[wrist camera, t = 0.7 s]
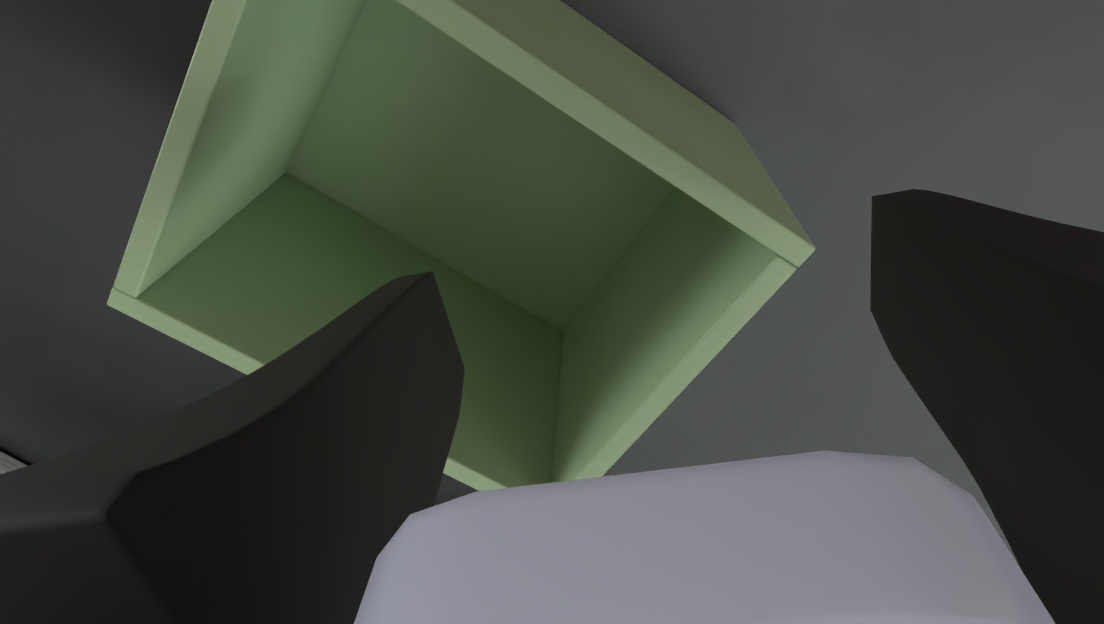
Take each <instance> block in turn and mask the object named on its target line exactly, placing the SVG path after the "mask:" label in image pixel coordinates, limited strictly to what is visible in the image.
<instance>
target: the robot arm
mask: <svg viewBox="0 0 1104 624" xmlns="http://www.w3.org/2000/svg"><path fill="white" fill-rule="evenodd" d="M871 312H872V314H873V316H874V318H875V321H876V323H877V325H878V327H879V330H880V332H881V334H882V336H883V339H884V341H885V343H886V345H887V347H888V349H889V351H890V353H891V355H892V357H893V358H894V360H895V362H896V363H897V365H898V366H899V368H900V369H901V371H902V372H903V374H904V375H905V377H906V378H907V380H908V381H909V383H910V384H911V386H912V387H913V388H914V390H915V391H916V393H917V394H918V396H919V397H920V399H921V400H922V402H923V403H924V405H925V406H926V407H927V409H928V410H929V412H930V413H931V415H932V416H933V418H934V419H935V420H936V422H937V423H938V425H939V426H940V428H941V429H942V431H943V432H944V433H945V435H946V436H947V438H948V439H949V441H950V442H951V444H952V445H953V447H954V448H955V449H956V451H957V452H958V454H959V455H960V457H961V458H962V460H963V461H964V463H965V464H966V466H967V468H968V469H969V471H970V472H971V474H972V476H973V477H974V479H975V481H976V482H977V484H978V486H979V487H980V489H981V491H982V493H983V495H984V497H985V499H986V501H987V503H988V504H989V506H990V508H991V510H992V512H993V514H994V516H995V518H996V520H997V522H998V524H999V526H1000V527H1001V529H1002V531H1003V533H1004V535H1005V537H1006V539H1007V541H1008V543H1009V545H1010V547H1011V549H1012V551H1013V553H1014V555H1015V557H1016V559H1017V561H1018V563H1019V565H1020V567H1021V569H1022V571H1023V572H1022V571H1021V569H1020V567H1019V566H1018V564H1017V563H1016V561H1015V560H1014V558H1013V557H1012V555H1011V553H1010V552H1009V550H1008V549H1007V547H1006V546H1005V544H1004V543H1003V541H1002V539H1001V538H1000V536H999V535H998V533H997V532H996V530H995V529H994V527H993V525H992V524H991V522H990V521H989V519H988V518H987V516H986V514H985V513H984V511H983V510H982V508H981V507H980V505H979V504H978V502H977V500H976V499H975V497H974V496H973V495H972V494H970V493H969V492H967V491H966V490H964V489H962V488H961V487H959V486H958V485H956V484H954V483H953V482H951V481H950V480H948V479H946V478H945V477H943V476H942V475H940V474H938V473H937V472H935V471H934V470H932V469H930V468H929V467H927V466H926V465H924V464H922V463H921V462H919V461H917V460H916V459H914V458H913V457H900V456H887V455H875V454H862V453H849V452H836V451H818V452H810V453H801V454H793V455H784V456H776V457H767V458H759V459H750V460H741V461H733V462H724V463H716V464H707V465H699V466H690V467H682V468H673V469H664V470H656V471H647V472H639V473H630V474H622V475H613V476H605V477H596V478H587V479H579V480H570V481H562V482H553V483H545V484H536V485H528V486H519V487H510V488H502V489H493V490H485V491H476V492H473V493H471V494H468V495H465V496H462V497H459V498H456V499H453V500H450V501H447V502H445V503H442V504H439V505H436V506H433V505H434V502H435V498H436V495H437V491H438V488H439V485H440V481H441V478H442V474H443V471H444V468H445V464H446V461H447V457H448V454H449V451H450V447H451V443H452V440H453V436H454V433H455V429H456V426H457V422H458V418H459V414H460V406H461V399H462V391H463V382H464V372H465V367H464V364H463V361H462V358H461V355H460V352H459V349H458V346H457V343H456V340H455V337H454V334H453V331H452V328H451V325H450V322H449V319H448V316H447V313H446V310H445V307H444V304H443V301H442V298H441V295H440V292H439V289H438V286H437V283H436V280H435V277H434V274H433V271H430V272H424V273H419V274H413V275H407V276H401V277H398V278H396V279H393V280H391V281H389V282H388V283H386V284H384V285H383V286H381V287H379V288H378V289H376V290H375V291H373V292H372V293H370V294H369V295H367V296H366V297H364V298H363V299H362V300H360V301H359V302H357V303H356V304H355V305H353V306H352V307H350V308H349V309H348V310H346V311H345V312H343V313H342V314H341V315H339V316H338V317H336V318H335V319H334V320H332V321H331V322H329V323H328V324H326V325H325V326H324V327H322V328H321V329H319V330H318V331H316V332H315V333H313V334H312V335H310V336H309V337H307V338H306V339H304V340H303V341H301V342H300V343H298V344H297V345H295V346H294V347H292V348H291V349H289V350H288V351H286V352H285V353H283V354H282V355H280V356H279V357H277V358H275V359H274V360H272V361H271V362H269V363H267V364H266V365H264V366H262V367H260V368H259V369H257V370H255V371H254V372H252V373H250V374H248V375H247V376H245V377H243V378H241V379H239V380H237V381H235V382H234V383H232V384H230V385H228V386H226V387H224V388H223V389H221V390H219V391H217V392H215V393H213V394H211V395H209V396H207V397H204V398H202V399H200V400H198V401H196V402H194V403H191V404H189V405H187V406H185V407H183V408H180V409H178V410H176V411H174V412H172V413H170V414H167V415H165V416H163V417H161V418H159V419H156V420H154V421H152V422H150V423H147V424H145V425H142V426H140V427H137V428H135V429H132V430H130V431H127V432H125V433H122V434H120V435H117V436H115V437H112V438H109V439H106V440H104V441H101V442H98V443H95V444H93V445H90V446H87V447H84V448H82V449H79V450H76V451H73V452H70V453H67V454H64V455H61V456H58V457H55V458H52V459H49V460H46V461H42V462H39V463H36V464H33V465H29V466H26V467H23V468H19V469H16V470H13V471H10V472H6V473H3V474H0V624H1104V232H1100V231H1095V230H1090V229H1085V228H1081V227H1076V226H1071V225H1066V224H1062V223H1057V222H1053V221H1049V220H1045V219H1040V218H1036V217H1032V216H1028V215H1024V214H1020V213H1016V212H1013V211H1009V210H1005V209H1001V208H997V207H993V206H990V205H986V204H982V203H978V202H974V201H971V200H967V199H963V198H959V197H955V196H951V195H946V194H942V193H937V192H932V191H926V190H916V189H913V190H907V191H901V192H895V193H889V194H883V195H877V196H872V232H871ZM1023 573H1024V574H1023Z"/></svg>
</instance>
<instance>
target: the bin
mask: <svg viewBox="0 0 1104 624" xmlns="http://www.w3.org/2000/svg"><path fill="white" fill-rule="evenodd" d="M814 250H815V246H814V245H813V243H812V242H811V240H810V239H809V237H808V235H807V234H806V232H805V231H804V229H803V228H802V226H801V225H800V223H799V221H798V220H797V218H796V217H795V215H794V214H793V212H792V210H791V209H790V207H789V206H788V204H787V203H786V201H785V200H784V198H783V196H782V195H781V193H780V192H779V190H778V189H777V187H776V186H775V184H774V182H773V181H772V179H771V178H770V176H769V175H768V173H767V172H766V170H765V168H764V167H763V165H762V164H761V162H760V161H759V159H758V158H757V156H756V154H755V153H754V151H753V150H752V148H751V147H750V145H749V144H748V142H747V140H746V139H745V137H744V136H743V134H742V133H741V131H740V130H739V128H738V127H737V125H736V124H735V123H733V122H732V121H730V120H729V119H727V118H726V117H725V116H723V115H722V114H720V113H719V112H718V111H716V110H715V109H713V108H712V107H710V106H709V105H708V104H706V103H705V102H703V101H702V100H701V99H699V98H698V97H696V96H695V95H694V94H692V93H691V92H689V91H688V90H686V89H685V88H684V87H682V86H681V85H679V84H678V83H677V82H675V81H674V80H672V79H671V78H670V77H668V76H667V75H665V74H664V73H662V72H661V71H660V70H658V69H657V68H655V67H654V66H653V65H651V64H650V63H648V62H647V61H645V60H644V59H643V58H641V57H640V56H638V55H637V54H636V53H634V52H633V51H631V50H630V49H629V48H627V47H626V46H624V45H623V44H621V43H620V42H619V41H617V40H616V39H614V38H613V37H612V36H610V35H609V34H607V33H606V32H605V31H603V30H602V29H600V28H599V27H597V26H596V25H595V24H593V23H592V22H590V21H589V20H588V19H586V18H585V17H583V16H582V15H580V14H579V13H578V12H576V11H575V10H573V9H572V8H571V7H569V6H568V5H566V4H565V3H564V2H562V1H561V0H212V2H211V5H210V8H209V11H208V14H207V17H206V19H205V22H204V25H203V28H202V31H201V34H200V37H199V40H198V43H197V45H196V48H195V51H194V54H193V57H192V60H191V63H190V66H189V69H188V71H187V74H186V77H185V80H184V83H183V86H182V89H181V92H180V95H179V97H178V100H177V103H176V106H175V109H174V112H173V115H172V118H171V121H170V123H169V126H168V129H167V132H166V135H165V138H164V141H163V144H162V147H161V149H160V152H159V155H158V158H157V161H156V164H155V167H154V170H153V173H152V175H151V178H150V181H149V184H148V187H147V190H146V193H145V196H144V199H143V201H142V204H141V207H140V210H139V213H138V216H137V219H136V222H135V225H134V227H133V230H132V233H131V236H130V239H129V242H128V245H127V248H126V250H125V253H124V256H123V259H122V262H121V265H120V268H119V271H118V274H117V276H116V279H115V282H114V287H113V288H112V290H111V293H110V296H109V299H108V302H107V305H108V306H110V307H112V308H114V309H116V310H118V311H120V312H122V313H124V314H126V315H128V316H130V317H132V318H134V319H136V320H138V321H140V322H142V323H144V324H146V325H148V326H150V327H152V328H154V329H156V330H158V331H160V332H162V333H164V334H166V335H168V336H170V337H172V338H174V339H176V340H178V341H180V342H182V343H184V344H186V345H188V346H190V347H192V348H194V349H196V350H198V351H200V352H202V353H204V354H206V355H208V356H210V357H212V358H214V359H216V360H218V361H220V362H222V363H224V364H226V365H228V366H230V367H232V368H234V369H236V370H238V371H240V372H242V373H244V374H246V375H248V374H250V373H252V372H254V371H255V370H257V369H259V368H260V367H262V366H264V365H266V364H267V363H269V362H271V361H272V360H274V359H275V358H277V357H279V356H280V355H282V354H283V353H285V352H286V351H288V350H289V349H291V348H292V347H294V346H295V345H297V344H298V343H300V342H301V341H303V340H304V339H306V338H307V337H309V336H310V335H312V334H313V333H315V332H316V331H318V330H319V329H321V328H322V327H324V326H325V325H326V324H328V323H329V322H331V321H332V320H334V319H335V318H336V317H338V316H339V315H341V314H342V313H343V312H345V311H346V310H348V309H349V308H350V307H352V306H353V305H355V304H356V303H357V302H359V301H360V300H362V299H363V298H364V297H366V296H367V295H369V294H370V293H372V292H373V291H375V290H376V289H378V288H379V287H381V286H383V285H384V284H386V283H388V282H389V281H391V280H393V279H396V278H398V277H401V276H407V275H413V274H419V273H424V272H430V271H433V274H434V277H435V280H436V283H437V286H438V289H439V292H440V295H441V298H442V301H443V304H444V307H445V310H446V313H447V316H448V319H449V322H450V325H451V328H452V331H453V334H454V337H455V340H456V343H457V346H458V349H459V352H460V355H461V358H462V361H463V364H464V367H465V372H464V382H463V391H462V399H461V406H460V414H459V418H458V422H457V426H456V429H455V433H454V436H453V440H452V443H451V447H450V451H449V454H448V457H447V461H446V464H445V468H444V471H443V473H444V474H446V475H448V476H450V477H452V478H454V479H456V480H458V481H460V482H462V483H464V484H466V485H468V486H470V487H472V488H474V489H476V490H478V491H485V490H493V489H502V488H510V487H519V486H528V485H536V484H545V483H553V482H562V481H570V480H579V479H587V478H596V477H602V476H603V475H604V474H605V473H606V471H607V470H608V469H609V468H610V467H611V466H612V465H613V464H614V463H615V462H616V461H617V460H618V459H619V458H620V457H621V456H622V454H623V453H624V452H625V451H626V450H627V449H628V448H629V447H630V446H631V445H632V444H633V443H634V442H635V441H636V440H637V439H638V437H639V436H640V435H641V434H642V433H643V432H644V431H645V430H646V429H647V428H648V427H649V426H650V425H651V424H652V423H653V421H654V420H655V419H656V418H657V417H658V416H659V415H660V414H661V413H662V412H663V411H664V410H665V409H666V408H667V407H668V406H669V404H670V403H671V402H672V401H673V400H674V399H675V398H676V397H677V396H678V395H679V394H680V393H681V392H682V391H683V390H684V389H685V387H686V386H687V385H688V384H689V383H690V382H691V381H692V380H693V379H694V378H695V377H696V376H697V375H698V374H699V373H700V371H701V370H702V369H703V368H704V367H705V366H706V365H707V364H708V363H709V362H710V361H711V360H712V359H713V358H714V357H715V356H716V354H717V353H718V352H719V351H720V350H721V349H722V348H723V347H724V346H725V345H726V344H727V343H728V342H729V341H730V340H731V339H732V337H733V336H734V335H735V334H736V333H737V332H738V331H739V330H740V329H741V328H742V327H743V326H744V325H745V324H746V323H747V321H748V320H749V319H750V318H751V317H752V316H753V315H754V314H755V313H756V312H757V311H758V310H759V309H760V308H761V307H762V306H763V304H764V303H765V302H766V301H767V300H768V299H769V298H770V297H771V296H772V295H773V294H774V293H775V292H776V291H777V290H778V289H779V287H780V286H781V285H782V284H783V283H784V282H785V281H786V280H787V279H788V278H789V277H790V276H791V275H792V274H793V273H794V271H795V270H796V267H799V266H800V265H801V264H802V263H803V262H804V261H805V260H806V259H807V258H808V257H809V256H810V255H811V254H812V253H813V251H814Z"/></svg>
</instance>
